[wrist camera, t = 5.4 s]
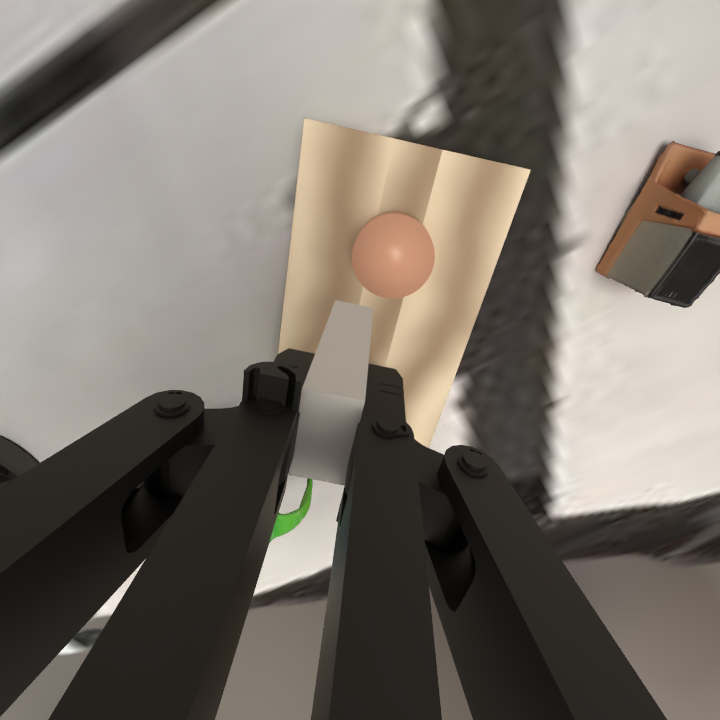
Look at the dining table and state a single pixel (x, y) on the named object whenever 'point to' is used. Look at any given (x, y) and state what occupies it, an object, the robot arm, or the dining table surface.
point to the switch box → (447, 231)
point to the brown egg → (393, 255)
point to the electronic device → (671, 230)
